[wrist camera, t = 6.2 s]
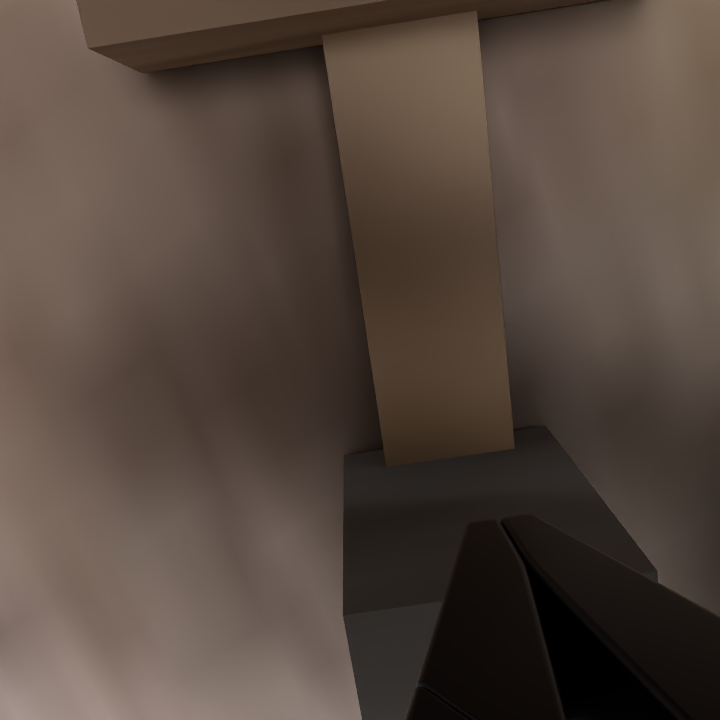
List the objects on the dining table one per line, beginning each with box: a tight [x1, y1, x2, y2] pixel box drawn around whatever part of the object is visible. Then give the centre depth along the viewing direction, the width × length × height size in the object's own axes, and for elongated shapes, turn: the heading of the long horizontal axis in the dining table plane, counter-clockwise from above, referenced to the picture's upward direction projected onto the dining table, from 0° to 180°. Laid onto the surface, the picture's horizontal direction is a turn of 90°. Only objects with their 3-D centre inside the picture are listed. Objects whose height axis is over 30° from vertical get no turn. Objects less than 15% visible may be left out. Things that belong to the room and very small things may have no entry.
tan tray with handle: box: [76, 0, 658, 720], centre depth 11 cm, size 23×11×6 cm, turn 8°
